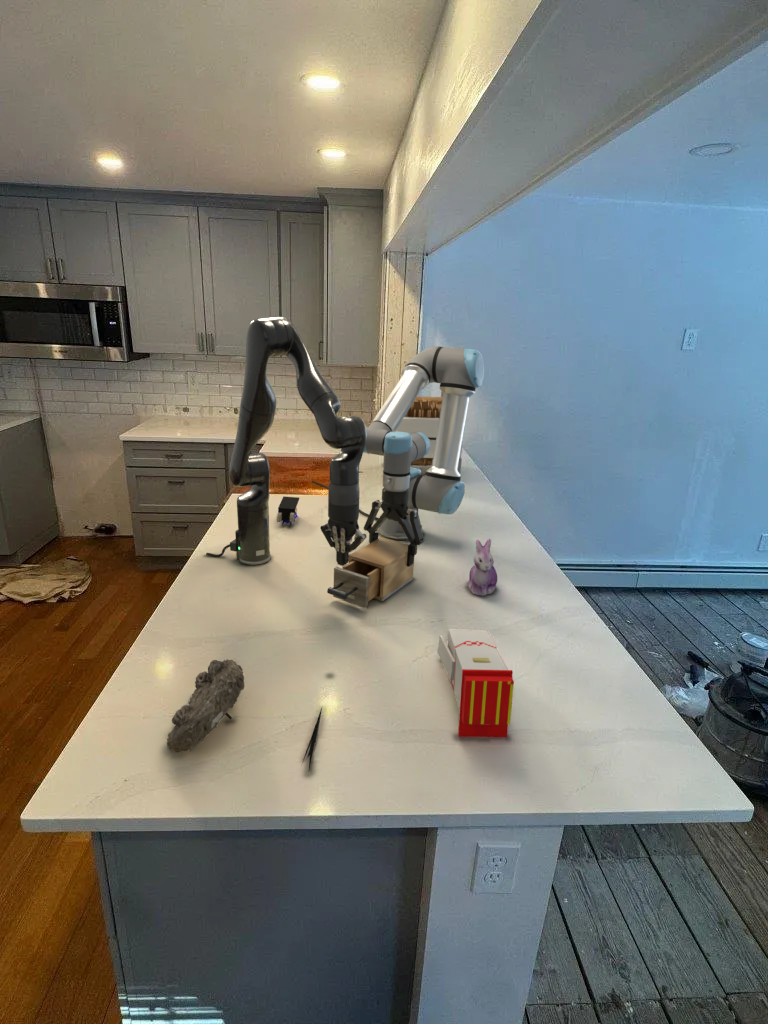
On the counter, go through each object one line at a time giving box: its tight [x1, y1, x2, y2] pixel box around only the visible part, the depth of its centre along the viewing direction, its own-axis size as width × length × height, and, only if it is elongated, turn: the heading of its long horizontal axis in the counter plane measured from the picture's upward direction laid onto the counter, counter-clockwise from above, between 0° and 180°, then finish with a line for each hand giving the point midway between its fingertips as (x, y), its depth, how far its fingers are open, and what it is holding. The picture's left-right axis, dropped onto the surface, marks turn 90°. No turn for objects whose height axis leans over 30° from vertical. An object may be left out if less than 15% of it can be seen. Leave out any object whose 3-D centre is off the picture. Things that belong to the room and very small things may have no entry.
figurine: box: [467, 538, 498, 596], centre depth 160 cm, size 9×10×15 cm
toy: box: [437, 628, 515, 738], centre depth 117 cm, size 12×13×30 cm
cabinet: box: [348, 536, 416, 602], centre depth 161 cm, size 17×12×10 cm
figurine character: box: [276, 495, 300, 527], centre depth 205 cm, size 7×8×15 cm
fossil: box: [166, 658, 245, 754], centre depth 106 cm, size 22×10×15 cm
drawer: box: [326, 560, 381, 609], centre depth 152 cm, size 22×10×8 cm, turn 148°
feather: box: [301, 673, 332, 771], centre depth 108 cm, size 2×28×2 cm
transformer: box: [383, 391, 464, 475], centre depth 268 cm, size 34×33×41 cm
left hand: (342, 564), depth 143 cm, fingers closed
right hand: (391, 559), depth 165 cm, fingers closed on cabinet, 12 cm apart
